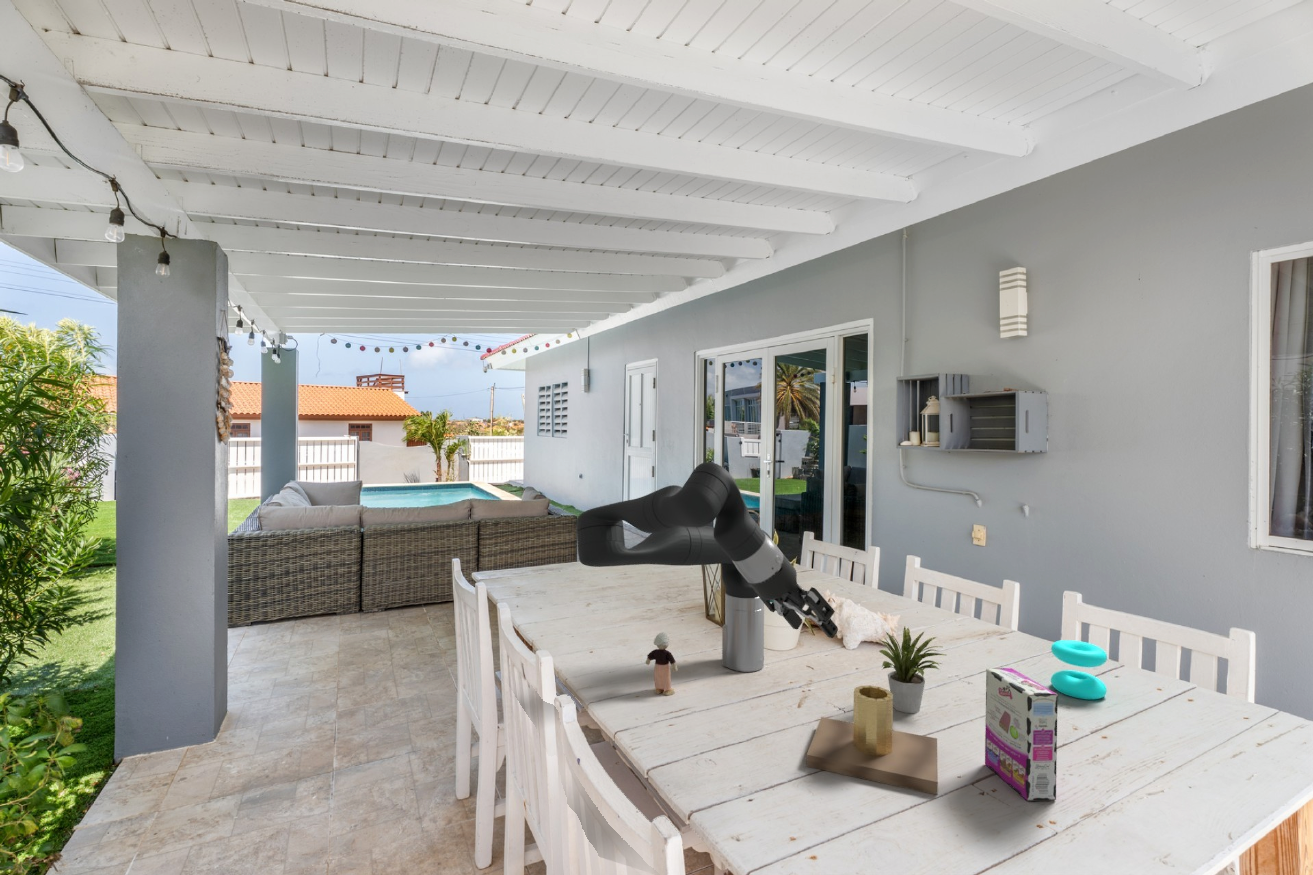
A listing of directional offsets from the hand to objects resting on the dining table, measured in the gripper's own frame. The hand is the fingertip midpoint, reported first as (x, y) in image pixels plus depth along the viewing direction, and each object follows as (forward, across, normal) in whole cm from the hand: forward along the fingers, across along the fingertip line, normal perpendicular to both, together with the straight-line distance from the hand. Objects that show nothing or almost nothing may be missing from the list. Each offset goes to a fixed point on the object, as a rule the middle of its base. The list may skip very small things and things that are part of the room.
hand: (815, 629), depth 109 cm
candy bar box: (+33, +20, +1) cm, 39 cm away
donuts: (+62, +6, +36) cm, 72 cm away
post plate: (+22, +3, -9) cm, 24 cm away
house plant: (+34, -6, +7) cm, 36 cm away
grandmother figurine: (+7, -38, -19) cm, 43 cm away
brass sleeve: (+20, +4, -8) cm, 22 cm away
